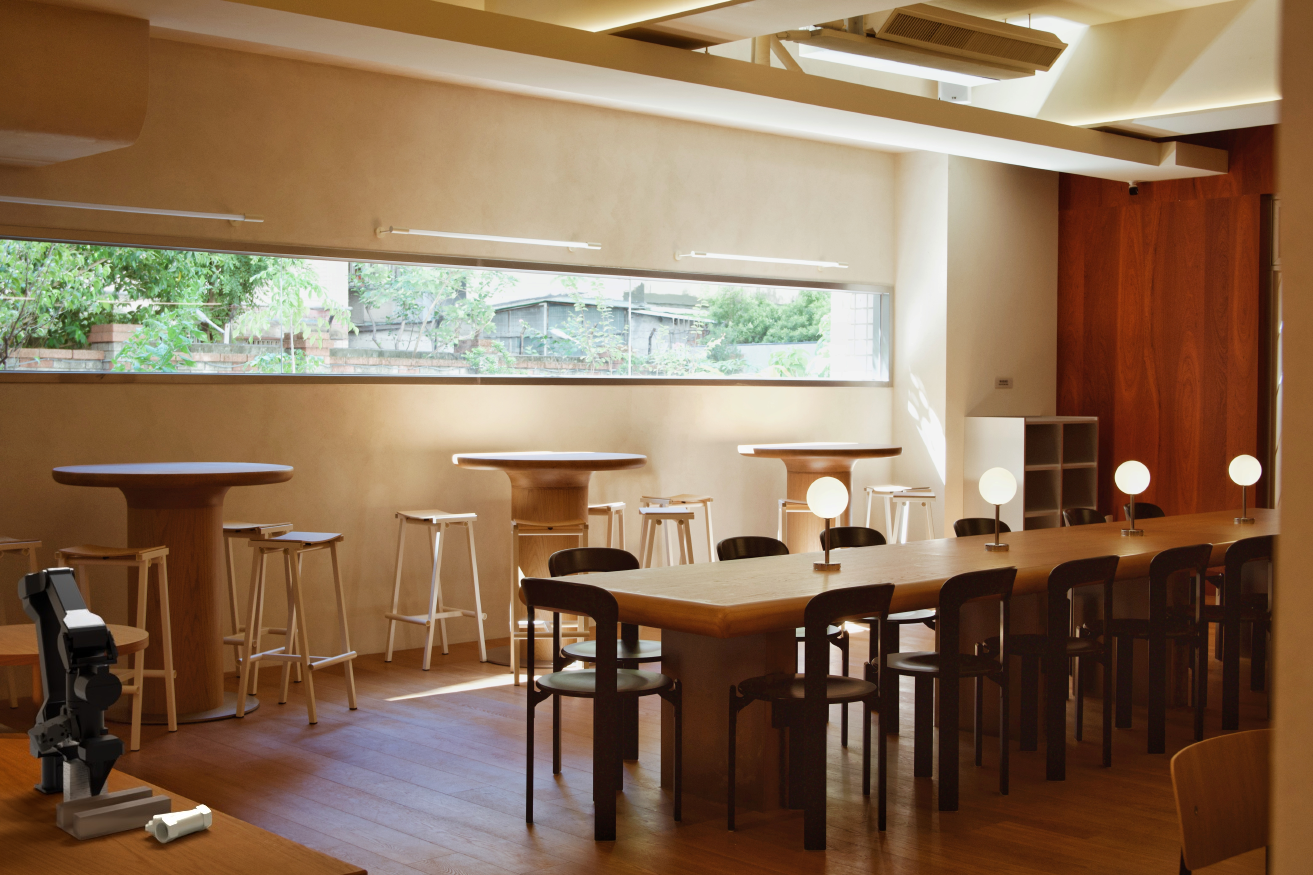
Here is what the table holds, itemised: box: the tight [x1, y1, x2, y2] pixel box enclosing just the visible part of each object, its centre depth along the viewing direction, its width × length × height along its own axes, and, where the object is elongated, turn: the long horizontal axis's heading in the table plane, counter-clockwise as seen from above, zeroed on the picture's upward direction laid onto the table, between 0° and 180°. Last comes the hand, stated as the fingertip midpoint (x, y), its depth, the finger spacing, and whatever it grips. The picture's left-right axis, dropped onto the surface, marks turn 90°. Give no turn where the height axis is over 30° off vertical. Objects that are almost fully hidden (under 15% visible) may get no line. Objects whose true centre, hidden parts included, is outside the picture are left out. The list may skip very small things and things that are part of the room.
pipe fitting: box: [144, 804, 213, 844], centre depth 188 cm, size 8×4×7 cm
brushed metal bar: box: [63, 759, 109, 802], centre depth 203 cm, size 3×6×8 cm, turn 135°
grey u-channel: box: [56, 785, 172, 841], centre depth 194 cm, size 10×14×4 cm
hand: (85, 791), depth 203 cm, fingers open, 8 cm apart
